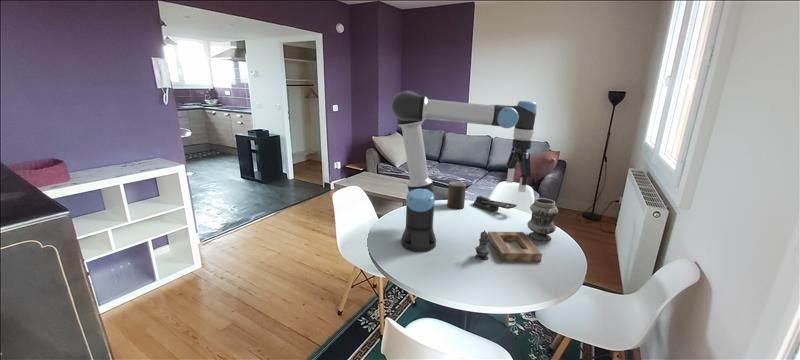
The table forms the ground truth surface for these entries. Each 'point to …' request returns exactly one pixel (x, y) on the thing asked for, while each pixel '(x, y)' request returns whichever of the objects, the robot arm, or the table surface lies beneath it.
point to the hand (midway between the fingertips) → (515, 187)
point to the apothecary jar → (542, 219)
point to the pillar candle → (456, 195)
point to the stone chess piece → (482, 247)
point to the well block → (514, 246)
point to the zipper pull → (491, 204)
